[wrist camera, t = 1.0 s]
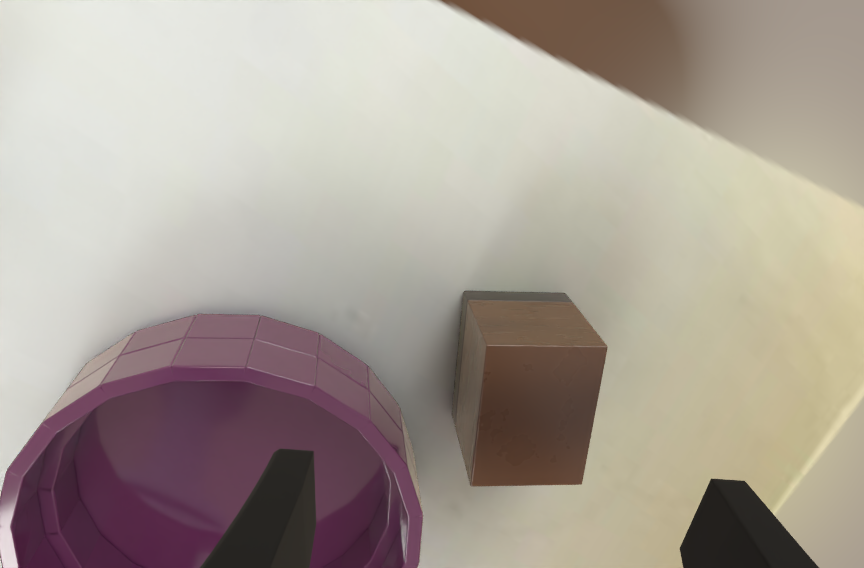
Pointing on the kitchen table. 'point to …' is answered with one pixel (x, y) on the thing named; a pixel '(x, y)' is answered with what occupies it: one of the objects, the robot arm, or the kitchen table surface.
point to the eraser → (525, 388)
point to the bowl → (210, 451)
